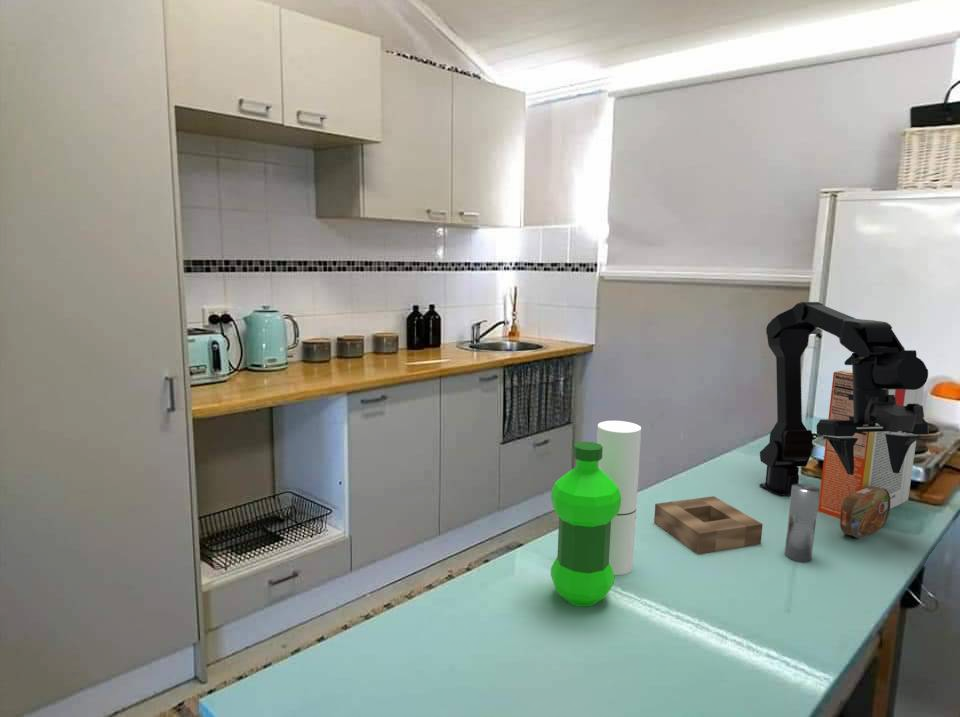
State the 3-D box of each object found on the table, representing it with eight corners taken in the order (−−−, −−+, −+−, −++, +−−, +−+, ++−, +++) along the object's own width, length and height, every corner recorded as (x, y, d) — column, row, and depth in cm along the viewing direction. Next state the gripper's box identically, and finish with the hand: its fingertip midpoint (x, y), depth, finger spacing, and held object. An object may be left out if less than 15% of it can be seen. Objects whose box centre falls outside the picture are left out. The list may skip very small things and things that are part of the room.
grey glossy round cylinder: (779, 552, 120) (786, 485, 117) (798, 549, 121) (805, 482, 119) (797, 563, 116) (805, 494, 113) (817, 560, 117) (825, 491, 115)
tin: (850, 543, 124) (855, 501, 123) (834, 536, 127) (838, 495, 125) (889, 525, 132) (894, 485, 131) (873, 519, 135) (878, 480, 133)
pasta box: (869, 489, 152) (885, 361, 146) (908, 500, 145) (926, 367, 140) (817, 511, 139) (833, 372, 133) (857, 524, 132) (875, 379, 127)
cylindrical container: (630, 556, 117) (638, 421, 113) (635, 576, 110) (644, 433, 106) (589, 554, 118) (596, 419, 113) (592, 573, 111) (599, 431, 106)
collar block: (654, 522, 132) (655, 503, 131) (712, 514, 136) (713, 496, 135) (697, 554, 119) (699, 533, 118) (760, 544, 123) (762, 524, 122)
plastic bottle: (622, 591, 106) (631, 442, 101) (599, 623, 97) (608, 461, 92) (565, 574, 110) (571, 432, 106) (538, 603, 102) (543, 449, 97)
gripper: (854, 390, 112) (857, 482, 112) (952, 389, 115) (955, 478, 114) (813, 389, 123) (815, 473, 123) (903, 388, 126) (906, 470, 125)
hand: (873, 473), depth 121 cm, fingers open, 9 cm apart
